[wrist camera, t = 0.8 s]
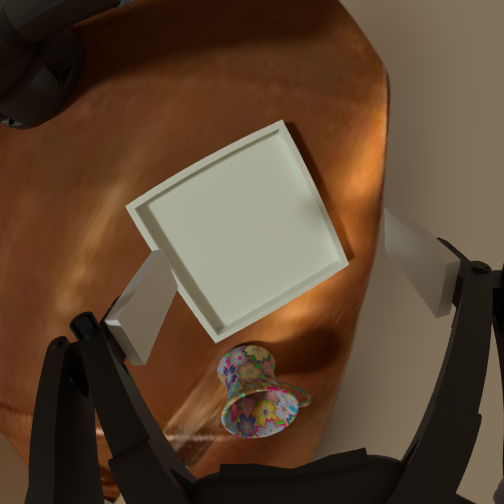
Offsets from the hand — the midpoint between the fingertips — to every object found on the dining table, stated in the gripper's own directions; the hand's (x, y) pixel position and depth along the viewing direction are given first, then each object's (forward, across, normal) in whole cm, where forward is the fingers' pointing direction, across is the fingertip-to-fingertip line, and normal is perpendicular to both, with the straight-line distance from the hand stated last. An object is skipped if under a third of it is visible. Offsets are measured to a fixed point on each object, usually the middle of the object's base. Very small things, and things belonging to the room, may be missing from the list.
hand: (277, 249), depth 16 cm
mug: (+13, -7, -25) cm, 29 cm away
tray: (+17, -4, -6) cm, 18 cm away
